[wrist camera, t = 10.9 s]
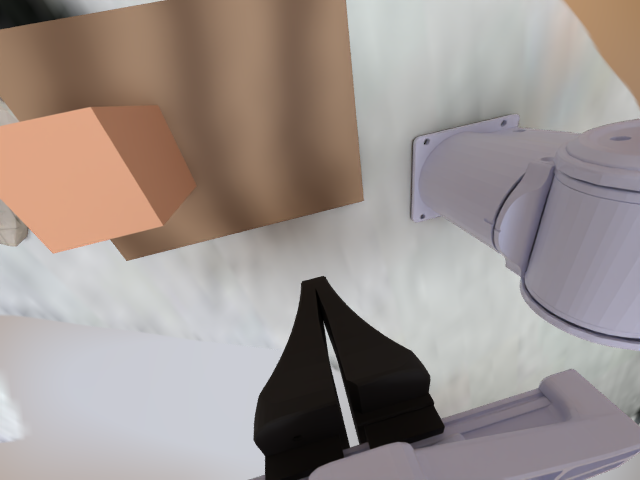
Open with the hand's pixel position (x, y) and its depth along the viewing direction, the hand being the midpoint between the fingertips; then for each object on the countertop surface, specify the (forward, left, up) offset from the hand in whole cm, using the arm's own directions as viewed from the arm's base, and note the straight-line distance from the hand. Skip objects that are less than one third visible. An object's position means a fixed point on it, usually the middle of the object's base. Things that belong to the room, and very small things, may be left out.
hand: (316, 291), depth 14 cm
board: (+4, -8, -9) cm, 13 cm away
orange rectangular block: (+9, -8, -8) cm, 15 cm away
